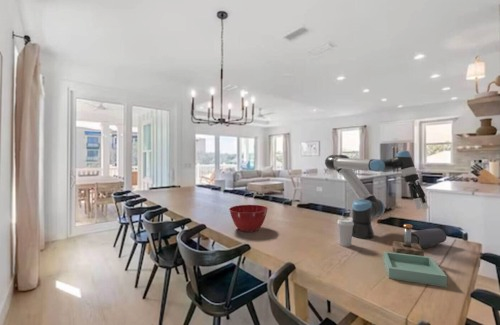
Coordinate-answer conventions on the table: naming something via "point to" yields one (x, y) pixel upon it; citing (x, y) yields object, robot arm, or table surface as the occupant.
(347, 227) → the coffee cup
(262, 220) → the mixing bowl
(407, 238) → the pin
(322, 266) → the table surface
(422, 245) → the bluetooth speaker
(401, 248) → the wooden socket block
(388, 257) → the parts tray
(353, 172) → the robot arm
